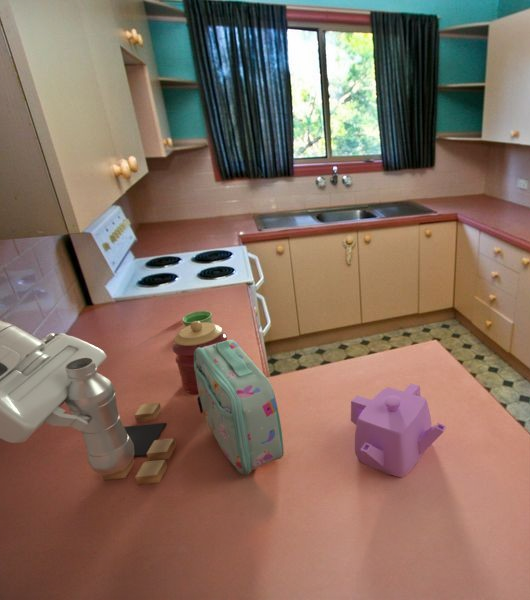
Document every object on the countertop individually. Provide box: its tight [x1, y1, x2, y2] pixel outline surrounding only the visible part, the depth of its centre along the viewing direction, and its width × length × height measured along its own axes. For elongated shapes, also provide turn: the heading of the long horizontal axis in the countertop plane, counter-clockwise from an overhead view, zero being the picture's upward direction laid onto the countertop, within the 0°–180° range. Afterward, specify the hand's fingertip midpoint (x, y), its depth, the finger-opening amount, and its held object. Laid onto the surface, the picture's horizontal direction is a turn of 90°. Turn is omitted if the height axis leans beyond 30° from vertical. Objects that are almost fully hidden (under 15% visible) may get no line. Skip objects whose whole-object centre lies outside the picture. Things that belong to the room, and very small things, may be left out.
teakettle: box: [350, 383, 447, 478], centre depth 86 cm, size 17×17×12 cm
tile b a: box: [101, 458, 135, 481], centre depth 85 cm, size 4×4×2 cm
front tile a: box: [134, 459, 168, 486], centre depth 83 cm, size 4×4×2 cm
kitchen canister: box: [171, 321, 228, 395], centre depth 110 cm, size 13×13×18 cm
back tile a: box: [134, 402, 162, 423], centre depth 100 cm, size 4×4×2 cm
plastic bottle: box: [64, 358, 135, 475], centre depth 68 cm, size 6×7×20 cm
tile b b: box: [146, 437, 177, 461], centre depth 89 cm, size 4×4×2 cm
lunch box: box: [194, 339, 284, 475], centre depth 88 cm, size 27×10×21 cm, turn 40°
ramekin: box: [181, 310, 213, 328], centre depth 142 cm, size 9×9×4 cm
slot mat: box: [124, 422, 167, 458], centre depth 93 cm, size 10×10×1 cm
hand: (99, 410), depth 67 cm, fingers closed on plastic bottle, 6 cm apart
